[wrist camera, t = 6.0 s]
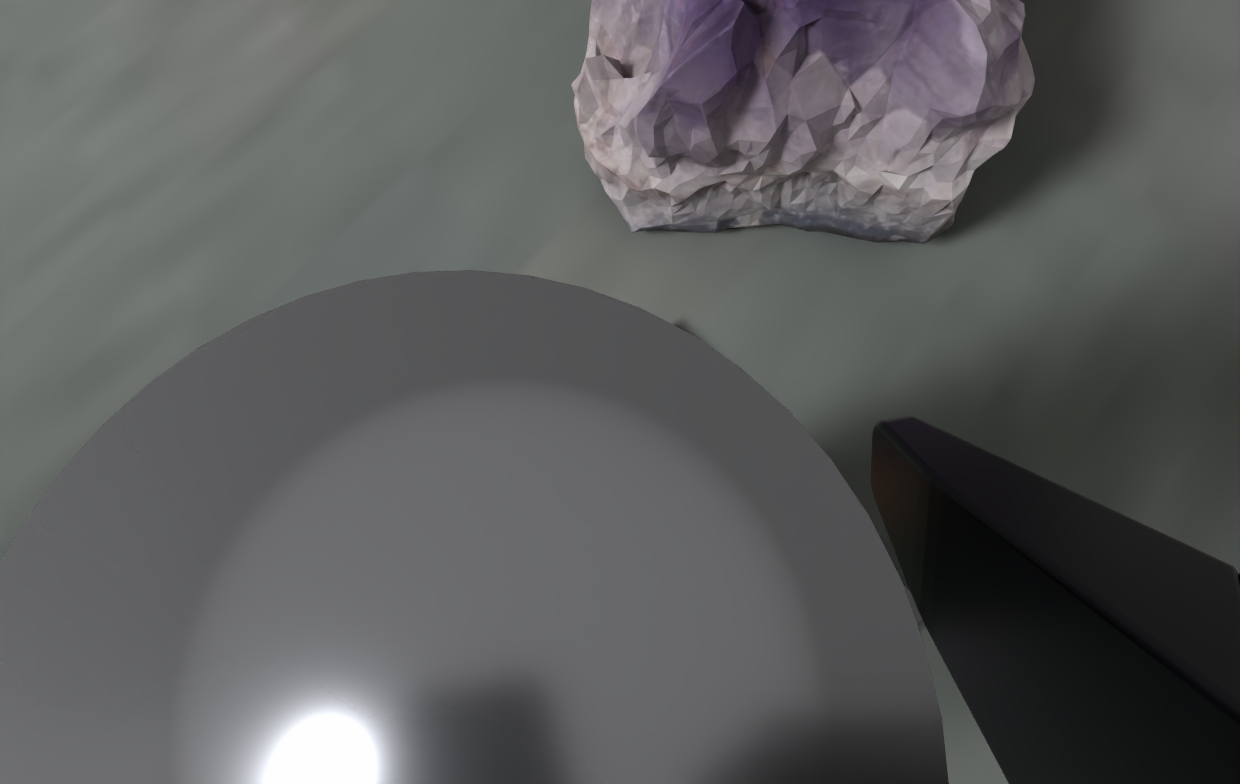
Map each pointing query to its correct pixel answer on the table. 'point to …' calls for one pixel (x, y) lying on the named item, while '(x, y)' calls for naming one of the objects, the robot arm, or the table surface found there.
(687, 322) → the table surface
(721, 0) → the geode
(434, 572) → the column
